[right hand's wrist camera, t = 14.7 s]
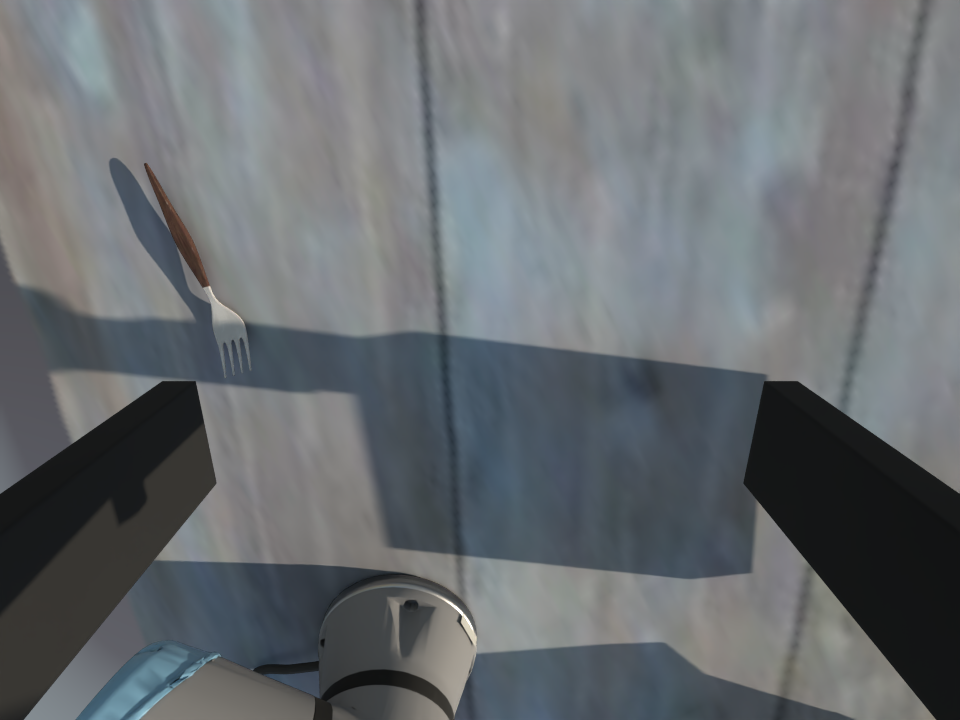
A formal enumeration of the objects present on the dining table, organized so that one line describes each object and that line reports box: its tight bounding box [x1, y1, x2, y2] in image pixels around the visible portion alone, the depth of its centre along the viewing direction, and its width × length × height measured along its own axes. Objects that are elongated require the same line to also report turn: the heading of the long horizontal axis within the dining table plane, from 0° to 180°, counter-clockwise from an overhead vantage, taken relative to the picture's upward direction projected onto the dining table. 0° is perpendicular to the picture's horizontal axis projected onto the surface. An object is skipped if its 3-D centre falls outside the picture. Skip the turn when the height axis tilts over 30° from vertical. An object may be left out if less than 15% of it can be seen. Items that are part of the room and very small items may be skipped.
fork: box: [144, 163, 251, 378], centre depth 39 cm, size 3×16×2 cm, turn 17°
